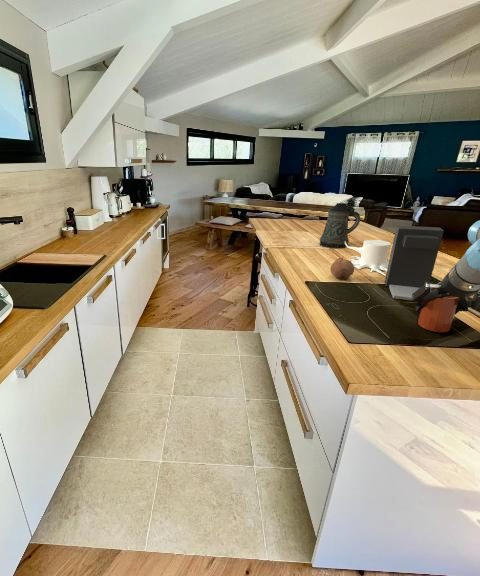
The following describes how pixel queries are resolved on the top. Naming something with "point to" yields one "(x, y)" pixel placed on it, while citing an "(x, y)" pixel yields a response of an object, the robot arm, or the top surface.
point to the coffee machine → (412, 259)
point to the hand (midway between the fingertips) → (433, 310)
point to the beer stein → (338, 226)
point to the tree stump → (372, 255)
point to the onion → (342, 268)
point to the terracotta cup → (438, 314)
